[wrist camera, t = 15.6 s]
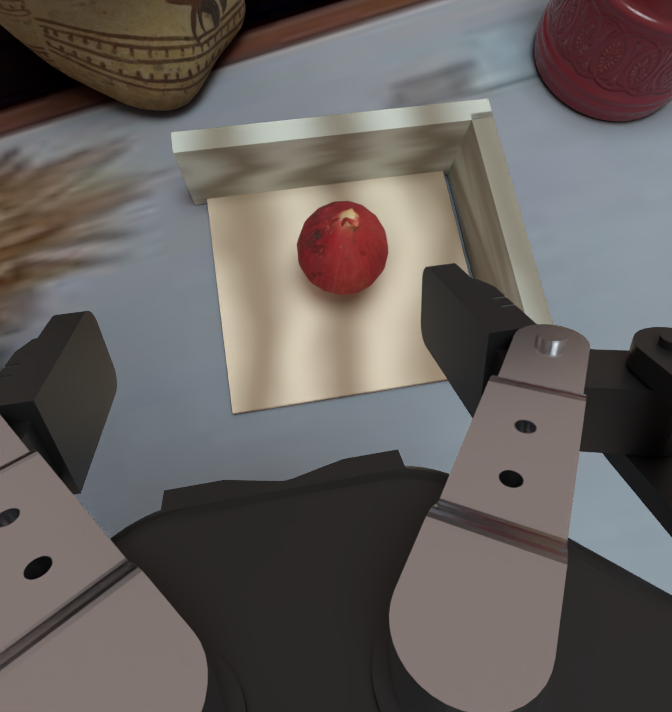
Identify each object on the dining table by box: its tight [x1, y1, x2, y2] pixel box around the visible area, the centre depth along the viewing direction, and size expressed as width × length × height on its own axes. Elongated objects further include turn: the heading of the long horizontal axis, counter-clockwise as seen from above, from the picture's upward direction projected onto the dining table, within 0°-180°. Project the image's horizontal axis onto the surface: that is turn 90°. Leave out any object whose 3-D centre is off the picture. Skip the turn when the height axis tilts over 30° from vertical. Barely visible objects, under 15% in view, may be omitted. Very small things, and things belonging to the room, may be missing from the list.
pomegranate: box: [297, 201, 388, 295], centre depth 31 cm, size 6×6×8 cm
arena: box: [171, 99, 553, 414], centre depth 32 cm, size 21×18×6 cm
